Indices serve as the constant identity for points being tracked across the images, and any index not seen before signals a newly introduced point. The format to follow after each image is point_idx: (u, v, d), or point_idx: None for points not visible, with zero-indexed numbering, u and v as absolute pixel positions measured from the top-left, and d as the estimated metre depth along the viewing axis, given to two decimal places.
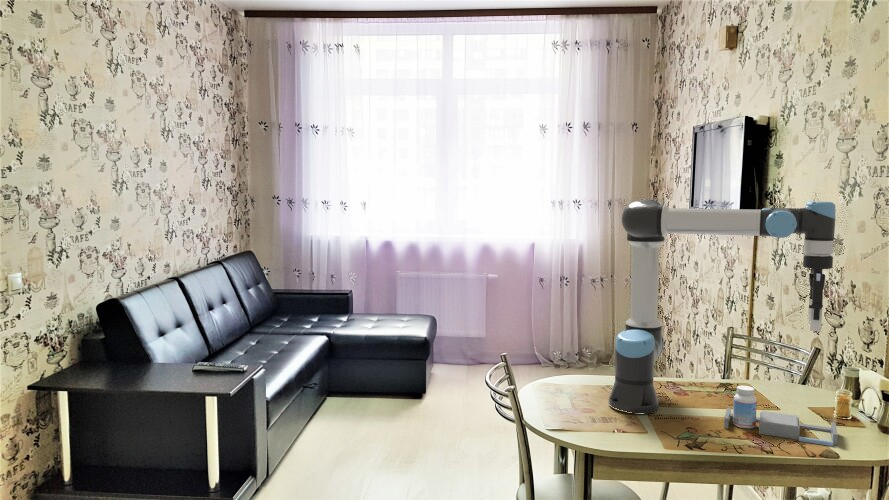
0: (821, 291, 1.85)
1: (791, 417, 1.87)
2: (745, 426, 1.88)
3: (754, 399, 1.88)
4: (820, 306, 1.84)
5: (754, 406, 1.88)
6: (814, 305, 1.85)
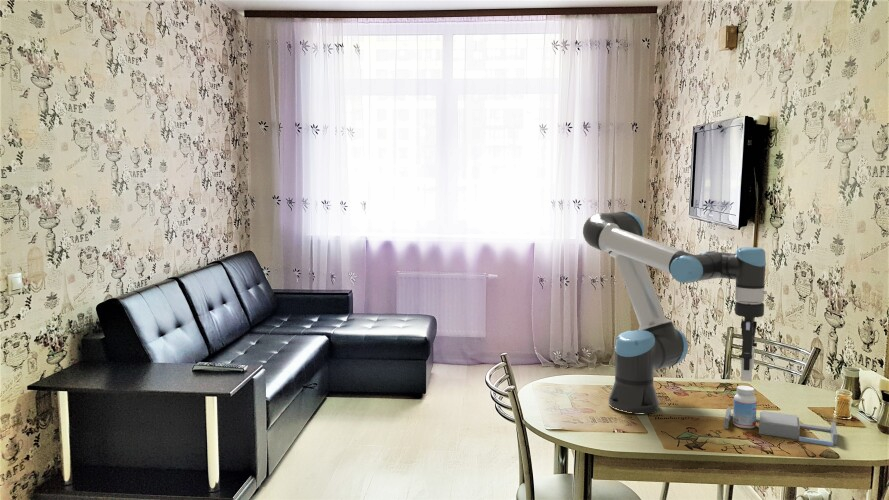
0: (750, 341, 1.81)
1: (791, 417, 1.87)
2: (745, 426, 1.88)
3: (754, 399, 1.88)
4: (749, 356, 1.79)
5: (754, 406, 1.88)
6: (743, 355, 1.80)
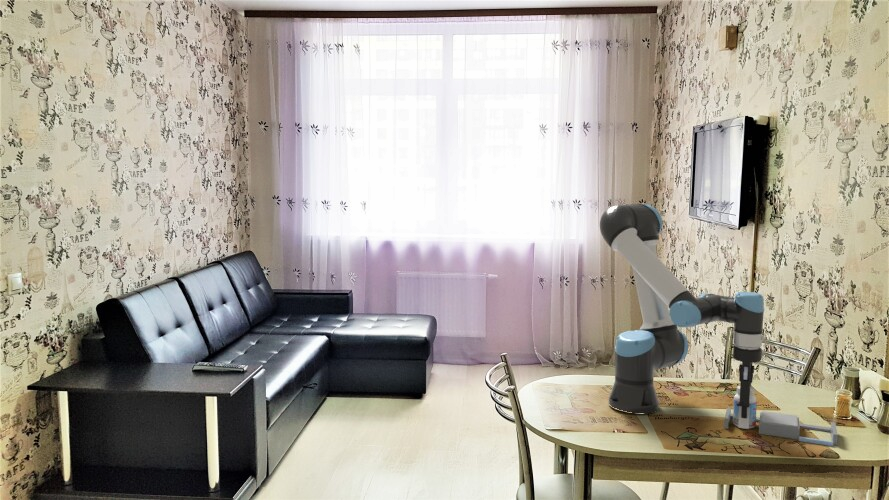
0: (748, 391, 1.84)
1: (791, 417, 1.87)
2: None
3: (754, 399, 1.88)
4: (747, 406, 1.84)
5: (754, 406, 1.88)
6: (741, 405, 1.85)
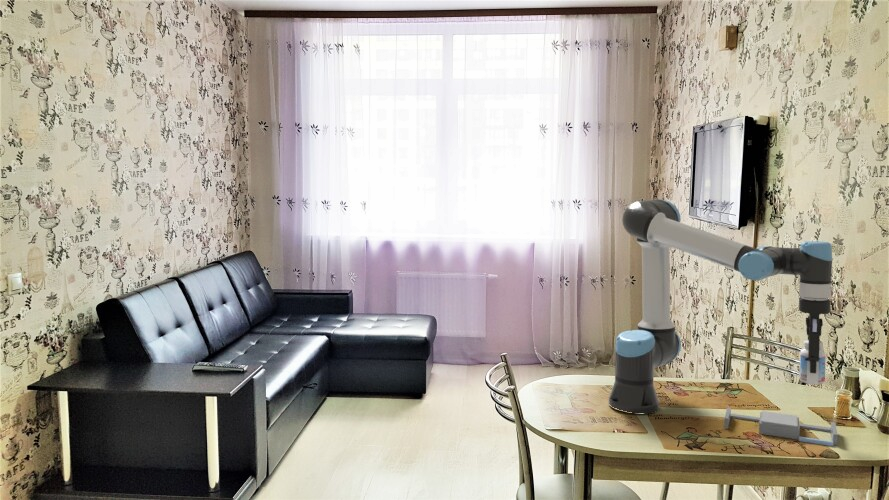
0: (818, 344, 1.75)
1: (791, 417, 1.87)
2: None
3: (823, 353, 1.79)
4: (816, 360, 1.75)
5: (823, 360, 1.79)
6: (810, 359, 1.76)
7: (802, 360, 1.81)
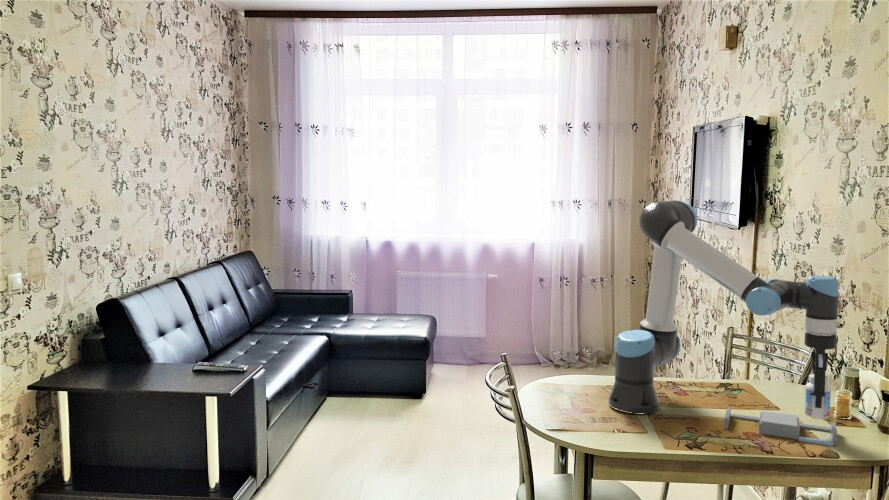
0: (823, 379, 1.75)
1: (791, 417, 1.87)
2: None
3: (828, 388, 1.79)
4: (822, 395, 1.75)
5: (828, 395, 1.79)
6: (816, 394, 1.76)
7: (807, 394, 1.81)
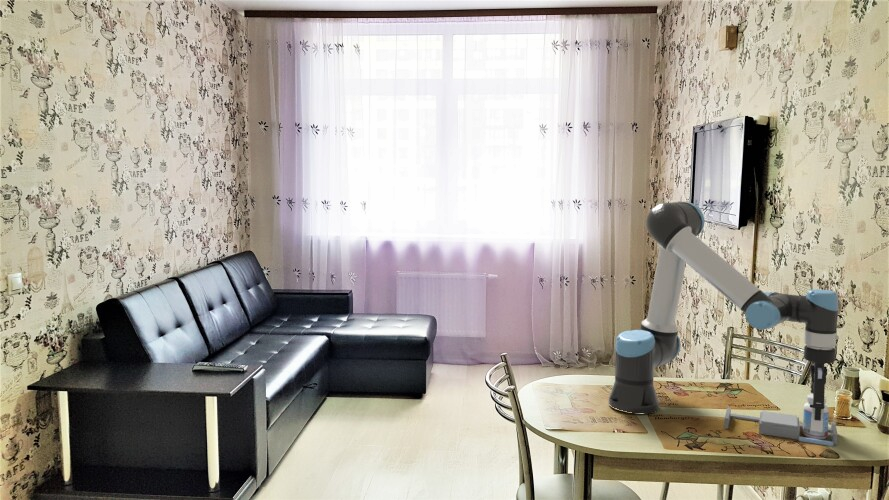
0: (823, 391, 1.74)
1: (791, 417, 1.87)
2: (817, 437, 1.80)
3: (826, 409, 1.80)
4: (821, 407, 1.74)
5: (826, 416, 1.80)
6: (815, 406, 1.74)
7: (805, 414, 1.82)
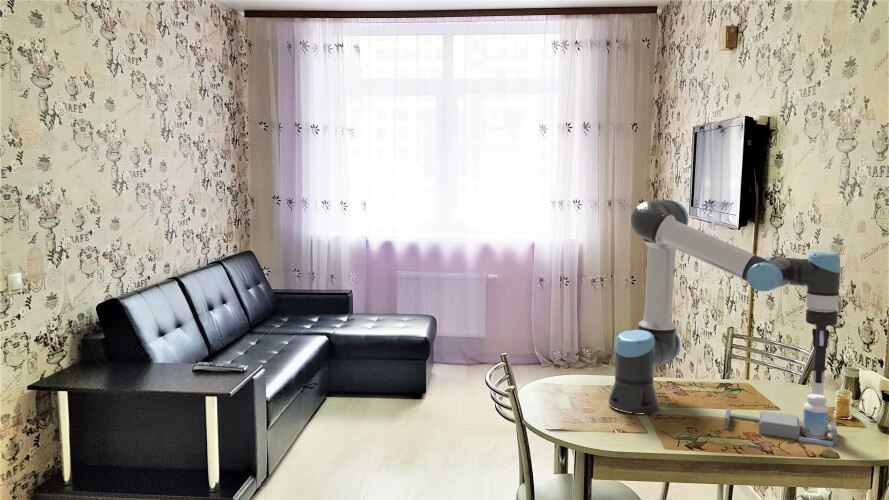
0: (824, 356, 1.76)
1: (791, 417, 1.87)
2: (817, 437, 1.80)
3: (826, 408, 1.80)
4: (822, 370, 1.78)
5: (826, 416, 1.80)
6: (816, 369, 1.78)
7: (805, 414, 1.82)
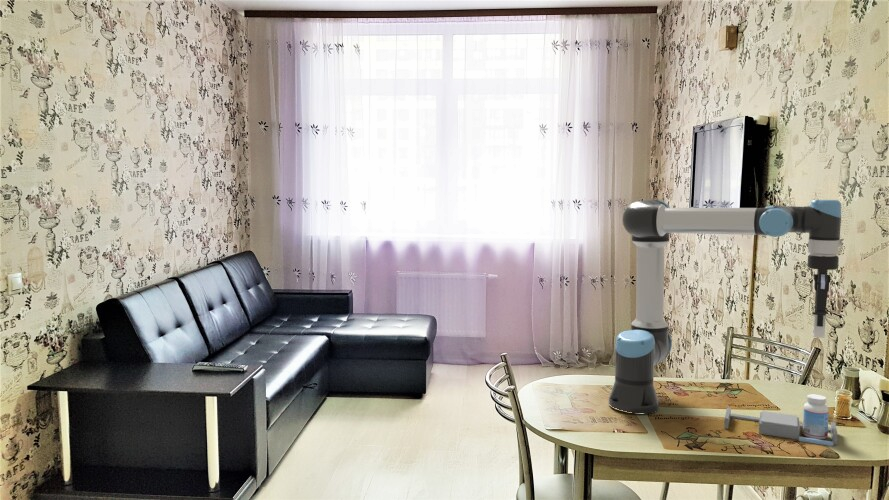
0: (825, 299, 1.82)
1: (791, 417, 1.87)
2: (817, 437, 1.80)
3: (826, 408, 1.80)
4: (823, 313, 1.83)
5: (826, 416, 1.80)
6: (817, 313, 1.84)
7: (805, 414, 1.82)
